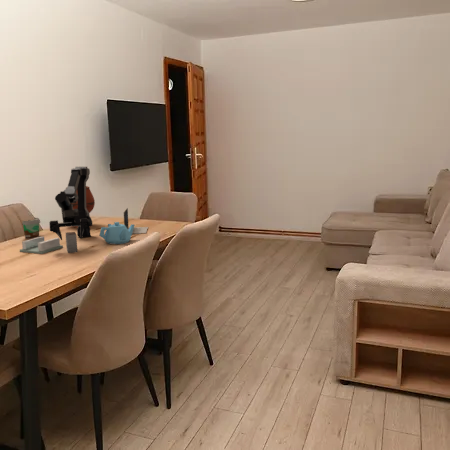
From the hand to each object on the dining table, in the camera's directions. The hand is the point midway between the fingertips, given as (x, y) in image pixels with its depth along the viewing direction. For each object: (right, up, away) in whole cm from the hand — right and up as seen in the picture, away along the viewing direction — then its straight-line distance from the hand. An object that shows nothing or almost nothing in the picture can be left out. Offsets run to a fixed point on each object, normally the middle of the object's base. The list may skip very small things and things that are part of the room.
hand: (71, 238), depth 234 cm
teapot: (+18, -3, +23) cm, 29 cm away
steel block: (0, -6, +2) cm, 7 cm away
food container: (-33, 0, +38) cm, 51 cm away
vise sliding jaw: (-23, -4, +9) cm, 25 cm away
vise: (-17, -6, +7) cm, 19 cm away
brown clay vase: (-16, +6, +68) cm, 70 cm away
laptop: (+23, +3, +52) cm, 57 cm away
